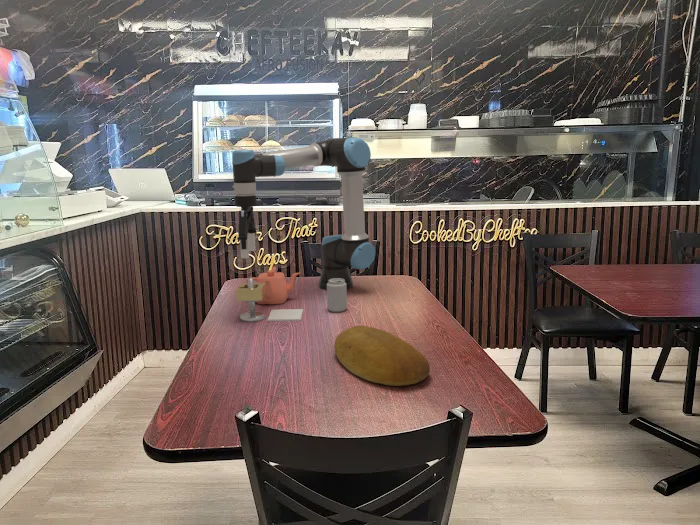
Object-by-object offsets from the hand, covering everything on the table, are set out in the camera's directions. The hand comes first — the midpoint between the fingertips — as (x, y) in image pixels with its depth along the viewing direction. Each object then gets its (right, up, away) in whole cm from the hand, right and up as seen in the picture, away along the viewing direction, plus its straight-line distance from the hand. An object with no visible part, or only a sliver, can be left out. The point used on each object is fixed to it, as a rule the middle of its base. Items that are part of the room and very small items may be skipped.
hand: (248, 254), depth 189 cm
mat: (+13, -23, +7) cm, 27 cm away
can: (+31, -21, +13) cm, 40 cm away
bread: (+44, -33, -39) cm, 67 cm away
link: (0, -15, +3) cm, 16 cm away
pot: (+5, -19, +27) cm, 34 cm away
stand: (+1, -23, +5) cm, 24 cm away
